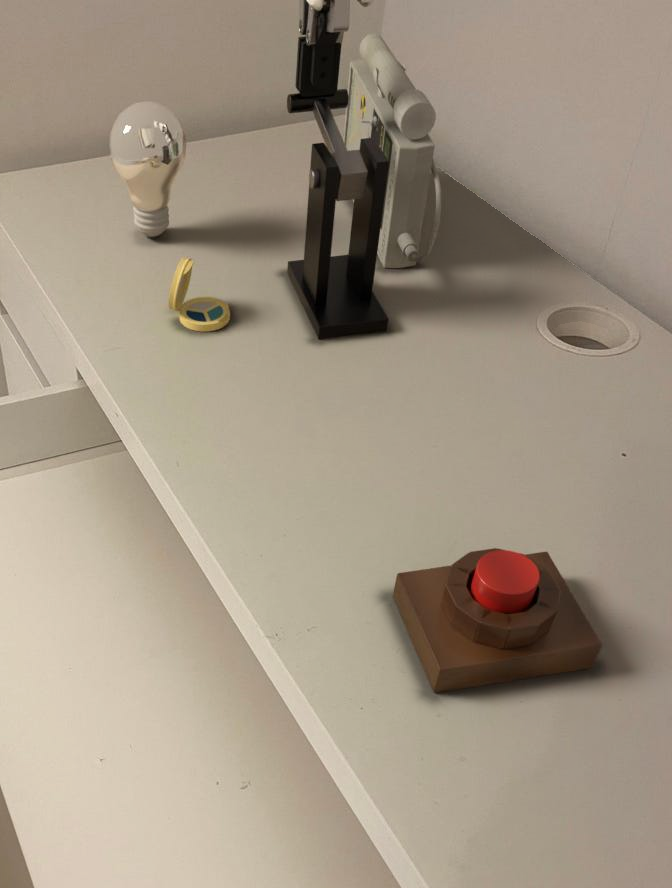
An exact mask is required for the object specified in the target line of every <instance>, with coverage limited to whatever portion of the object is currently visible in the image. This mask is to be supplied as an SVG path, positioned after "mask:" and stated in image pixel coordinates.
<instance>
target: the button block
mask: <svg viewBox="0 0 672 888" xmlns="http://www.w3.org/2000/svg"><path fill="white" fill-rule="evenodd" d="M498 550H504V549H502V548H497V547H494V548H487V549H480V550H475V551H469V552H467V553H465V555H463V556H462V557H461V558H459V559H457V560H456V561H455V562H454V563H452V564H451V565H444V566H438V567H437V566H436V567H430V568H423V569H416V570H412V571H410V570H409V571H403V572H397V574H396V577H395V583H394V588H393V592H392V599H393V601H394V603H395V605H396V608H397V610H398V613H399V615H400V617H401V620H402V623H403V625H404V626H405V630H406V631H407V633H408V634H407V635H408V636H409V638H410V641H411V643H412V645H413V648H414V649H415V652H416V655H417V657H418V659H419V662H420V664H421V666H422V669H423V671H424V673H425V675H426V678H427V680H428V682H429V685H430V687H431V690H432V692H433V693H434V694H436V693H441V692H448V691H456V690H460V689H467V688H474V687H478V686H480V687H481V686H485V685H492V684H498V683H503V682H511V681H517V680H523V679H528V678H530V679H531V678H535V677H542V676H547V675H556V674H559V673H560V674H561V673H566V672H572V671H579V670H584V669H585V670H586V669H591V668H593V666H594V664H595V662H596V660H597V657H598V655H599V653H600V651H601V649H602V647H603V643H602V641H601V640H600V638H599V636H598V635H597V633H596V631H595V630H594V628H593V626H592V624H591V622H590V621H589V620H588V618H587V615H586V614H585V613H584V611H583V609H582V608H581V606H580V604H579V602H578V601H577V599H576V597H575V595H574V594H573V593H572V591H571V589H570V587H569V585H568V584H567V582H566V581H565V579H564V578H563V575H562V574H561V572H560V571H559V569H558V567H557V566H556V564H555V562H554V560H553V558H552V557H551V555H550V553H549V552H548V551H540V552H532V553H525V554H524V553H521V552H518V553H519V554H522V555H524V556H525V557H527V558H529V559H530V560H531V561H532V562H533V563H534V564H535V565H536V567H537V569H538V571H539V575H540V578H539V582H538V585H537V588H536V591H535V593H534V596H533V599H532V602H531V603H530V605H529V606H528V607H527V608H526V609H524V610H522V611H520V612H517V613H513V614H504V613H499V612H495V611H491V610H488V609H486V608H485V607H484V606H482V605H481V604H479V603H478V602H477V601H476V600H475V598H474V597H473V595H472V591H471V584H472V580H473V577H474V573H475V570H476V566H477V563H478V561H479V560H480V559H481V557H483V556H484V555H485V554H487V553H489V552H493V551H498Z"/></svg>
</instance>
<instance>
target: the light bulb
mask: <svg viewBox="0 0 672 888" xmlns="http://www.w3.org/2000/svg"><path fill="white" fill-rule="evenodd" d="M108 138H109V139H108V150H109V156H110V160H111V162H112V165H113V167H114V170H115V171H116V172H117V174H118V176H119V177H120V178H121V180H122V181H123V183H124V184H125V186H126V188H127V191H128V196H129V199H130V203H131V204H132V205H133V218H134V225H135V227H136V229H137V230H138V231H139V232H140V233H141V234H142V235H143V236H145V237H146V238H148V239H157V238H158V237H159V236H160V235H161V234H162V233H164V232H165V231H166V229H167V228H168V227H169V225H170V213H169V210H170V209H169V206H168V204H169V203H170V201H171V198H172V197H171V196H172V189H173V186H174V184H175V181H176V179H177V177H178V175H179V173H180V171H181V170H182V167H183V165H184V163H185V159H186V153H187V139H186V135H185V131H184V127H183V126H182V123H181V121H180V120H179V118H178V117H177V116H176V115H175V113H174V112H173V111H172V110H170V109H169V108H168V107H166V106H165V105H163V104H161V103H158V102H156V101H151V100H142V101H138V102H137V101H136V102H135V103H132V104H131V105H129V106H127V107H126V108H124V110H122V111H121V112H120V113H119V114H118V116H117V118H116V119H115V120H114V122H113V124H112V126H111V129H110V134H109V137H108Z"/></svg>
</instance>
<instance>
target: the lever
mask: <svg viewBox="0 0 672 888" xmlns="http://www.w3.org/2000/svg"><path fill="white" fill-rule="evenodd" d="M348 99H349V98H348V88H337V91H336V93H335V94H331V95H320V96H309V97H302V96H301V95H300V93H299V92H296V93H288V95H287V96H286V109H287V112H288V114H298V113H299V114H300V113H309V112H312V114H313V116H314V119H315V121H316V124H317V126H318V129H319V131H320V134H321V136H322V139H323V141H324V144H325V145H326V147H327V148H328V150H329V152H330V153H331V155H332V156H333V158H334V160H335V161H336V163H337V164H338V166H339V172H338V183H337V193H336V202H341V201H342V202H343V201H350V200H351V201H353V200H352V199H361V198H363V196H364V190H365V185H366V180H367V174H368V170H367V168H366V166H365V163H364V161H363V158H362V156H361V154H360V151H359V150H351V151H347V149H346V146H345V144H344V141H343V136H342V134H341V132H340V129H339V126H338V125H337V122H336V119H335V116H334V115H333V113H332V110H341V109H346V108H347V106H348Z"/></svg>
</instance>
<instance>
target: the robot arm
mask: <svg viewBox="0 0 672 888" xmlns="http://www.w3.org/2000/svg"><path fill="white" fill-rule="evenodd" d="M374 1H375V0H356V2H358V3H359V4H360V6H362V7H363V8H368V7H370V6H371V5H372V4H373V3H374ZM350 8H351V0H299V8H298V32H299V35H300V36H298V40H297V55H296V69H295V70H296V71H295V89H296V90H297V92H298V93H300V95H301V96H302V97H309V96H320V95H331V94H335V93H336V91H337V90H338V89H339V88H338V86H339V77H340V76H339V75H340V65H341V64H340V63H341V54H342V53H341V52H342V43H343V40H344V35H345V34H344V33H345V32H348V31H349V29H350V16H351V15H350V14H351V13H350V12H351V10H350Z"/></svg>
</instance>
